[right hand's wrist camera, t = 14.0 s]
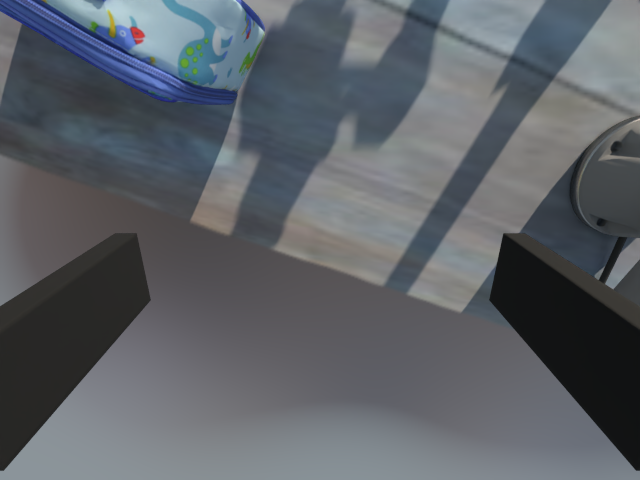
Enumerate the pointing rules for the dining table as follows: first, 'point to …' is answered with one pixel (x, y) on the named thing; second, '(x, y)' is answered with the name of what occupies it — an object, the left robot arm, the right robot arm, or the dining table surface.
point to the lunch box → (154, 42)
